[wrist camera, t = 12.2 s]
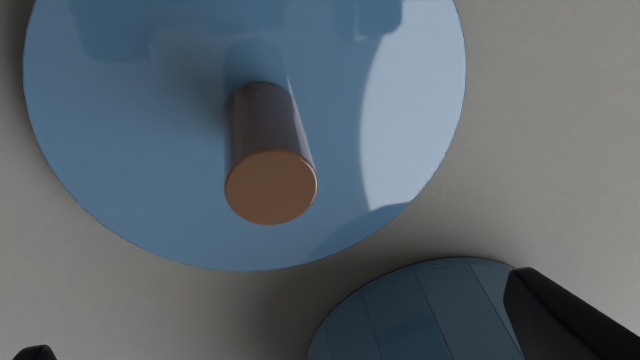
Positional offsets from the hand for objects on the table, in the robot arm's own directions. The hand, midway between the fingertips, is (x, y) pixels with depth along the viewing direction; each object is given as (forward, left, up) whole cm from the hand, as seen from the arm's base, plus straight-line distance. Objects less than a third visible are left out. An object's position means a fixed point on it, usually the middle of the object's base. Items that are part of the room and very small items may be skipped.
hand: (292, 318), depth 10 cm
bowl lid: (0, 0, -8) cm, 8 cm away
